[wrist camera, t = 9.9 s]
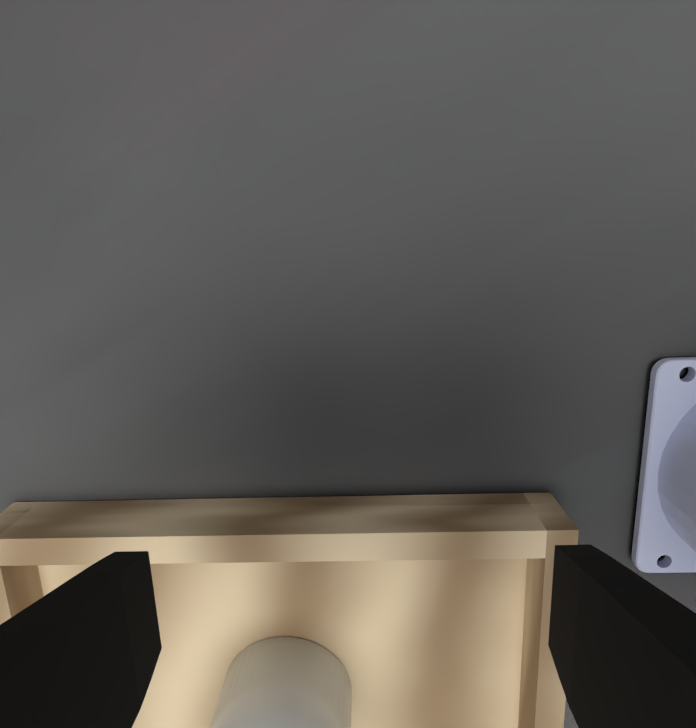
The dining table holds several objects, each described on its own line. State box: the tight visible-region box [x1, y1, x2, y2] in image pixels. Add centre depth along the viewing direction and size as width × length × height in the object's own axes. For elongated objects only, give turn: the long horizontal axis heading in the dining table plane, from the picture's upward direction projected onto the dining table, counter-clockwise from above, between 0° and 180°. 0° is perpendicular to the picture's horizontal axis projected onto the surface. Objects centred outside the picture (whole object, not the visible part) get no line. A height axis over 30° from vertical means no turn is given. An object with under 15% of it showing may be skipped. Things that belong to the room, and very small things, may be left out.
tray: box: [0, 493, 579, 728], centre depth 20 cm, size 20×16×2 cm
